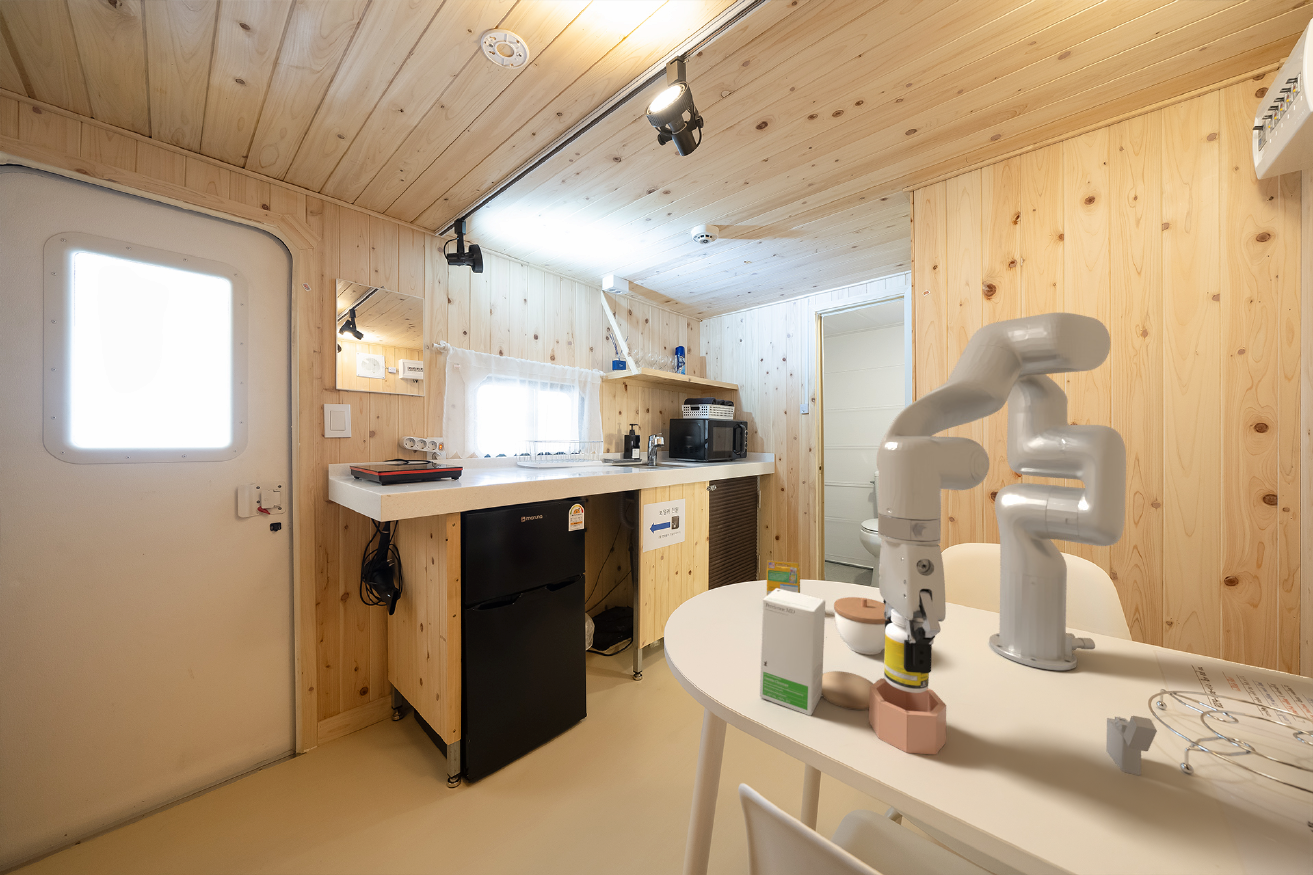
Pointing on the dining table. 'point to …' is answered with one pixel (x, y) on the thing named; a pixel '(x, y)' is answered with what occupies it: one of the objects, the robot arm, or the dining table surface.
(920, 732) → the terracotta octagonal planter pot
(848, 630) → the lidded jar
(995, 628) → the dining table surface
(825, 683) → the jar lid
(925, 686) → the supplement bottle
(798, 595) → the skincare box
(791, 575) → the crayon box
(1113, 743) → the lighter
